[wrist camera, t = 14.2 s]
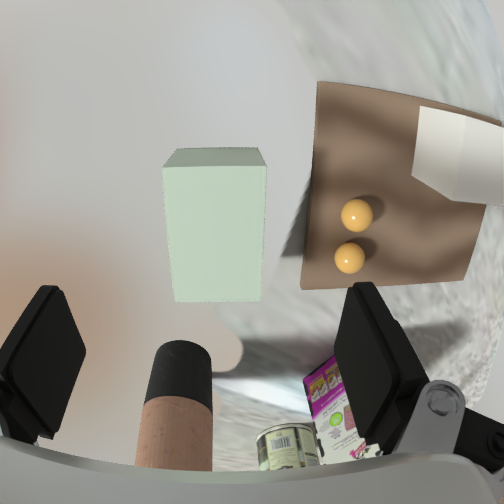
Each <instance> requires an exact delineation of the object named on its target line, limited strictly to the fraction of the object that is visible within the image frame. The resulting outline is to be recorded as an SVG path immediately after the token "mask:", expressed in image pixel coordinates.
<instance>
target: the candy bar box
mask: <svg viewBox="0 0 504 504" xmlns="http://www.w3.org/2000/svg"><path fill="white" fill-rule="evenodd" d="M302 381H303V384H304V389H305V392H306V396H307V400H308V404H309V408H310V412H311V416H312V420H313V424H314V427H315V432H316V436H317V440H318V444H319V449H320V453H321V456H322V460H323V464H324V465H327V464H334V463H341V462H348V461H354V460H359V459H365V458H371V457H377V456H379V455H380V453H381V452H382V451H381V450H380V449H379V446H378V444H374V445H369V446H366V443H365V439H364V438H360V437H359V435H358V432H357V429H356V425H355V422H354V418H353V415H352V412H351V408H350V405H349V401H348V398H347V395H346V391H345V388H344V385H343V381H342V378H341V375H340V372H339V368H338V365H337V362H336V359H335V355H334V356H333V357H331V358H330V359H329V360H327V361H326V362H325V363H324V364H322V365H321V366H320V367H319V368H317V369H316V370H315V371H313V372H312V373H311V374H309V375H308V376H307V377H305V378H304V379H303V380H302Z"/></svg>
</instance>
